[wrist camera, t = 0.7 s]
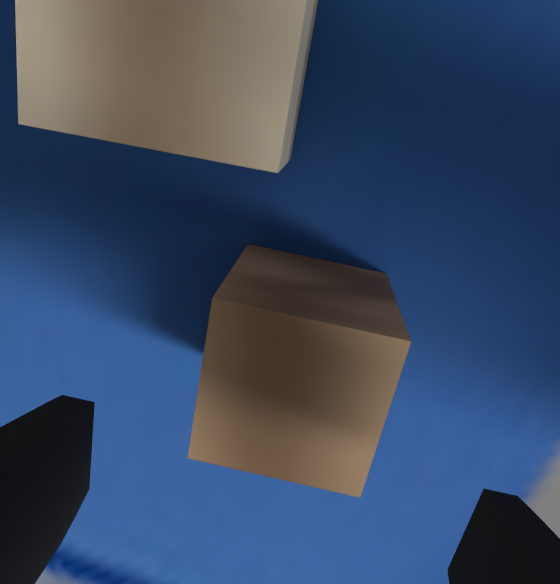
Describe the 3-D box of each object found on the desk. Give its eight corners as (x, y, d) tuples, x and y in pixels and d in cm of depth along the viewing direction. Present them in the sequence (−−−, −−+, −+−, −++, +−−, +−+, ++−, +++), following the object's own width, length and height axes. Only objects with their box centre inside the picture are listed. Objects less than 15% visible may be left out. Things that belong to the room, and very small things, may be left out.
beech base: (332, -79, 12) (334, -168, 8) (290, 158, 14) (277, 172, 10) (106, -118, 12) (9, -223, 9) (98, 122, 14) (18, 123, 11)
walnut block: (385, 272, 15) (411, 341, 10) (351, 391, 17) (360, 497, 12) (248, 243, 15) (212, 297, 10) (227, 363, 17) (187, 457, 12)
